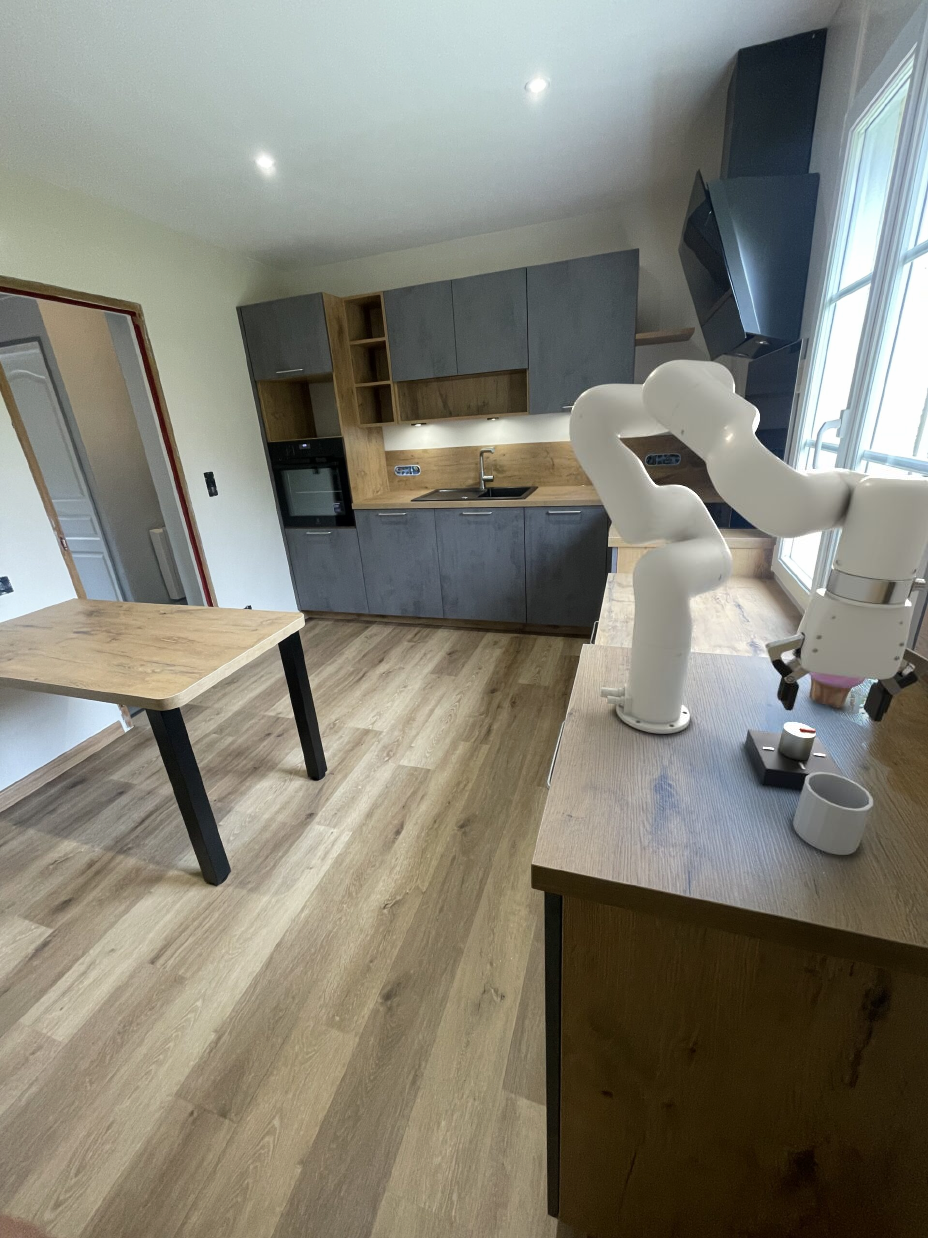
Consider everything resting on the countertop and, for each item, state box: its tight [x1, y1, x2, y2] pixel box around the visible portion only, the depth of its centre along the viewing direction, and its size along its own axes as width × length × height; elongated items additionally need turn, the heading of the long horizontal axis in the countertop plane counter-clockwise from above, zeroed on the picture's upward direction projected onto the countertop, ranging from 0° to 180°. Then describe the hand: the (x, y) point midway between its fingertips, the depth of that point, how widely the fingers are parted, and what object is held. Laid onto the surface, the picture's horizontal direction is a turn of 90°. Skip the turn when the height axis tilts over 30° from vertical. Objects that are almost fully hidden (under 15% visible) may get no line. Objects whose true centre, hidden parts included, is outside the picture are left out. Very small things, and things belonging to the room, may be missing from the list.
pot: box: [792, 772, 874, 856], centre depth 61 cm, size 7×7×7 cm
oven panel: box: [744, 729, 846, 791], centre depth 74 cm, size 10×10×3 cm
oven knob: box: [778, 721, 817, 760], centre depth 72 cm, size 4×4×4 cm
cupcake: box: [807, 672, 866, 709], centre depth 90 cm, size 9×9×10 cm
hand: (827, 710), depth 63 cm, fingers open, 9 cm apart
